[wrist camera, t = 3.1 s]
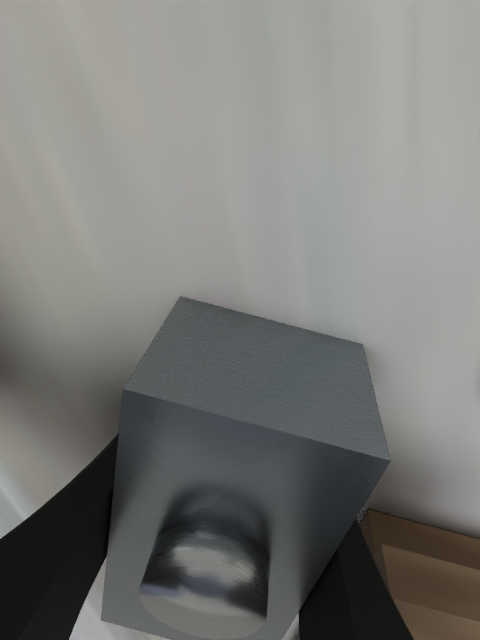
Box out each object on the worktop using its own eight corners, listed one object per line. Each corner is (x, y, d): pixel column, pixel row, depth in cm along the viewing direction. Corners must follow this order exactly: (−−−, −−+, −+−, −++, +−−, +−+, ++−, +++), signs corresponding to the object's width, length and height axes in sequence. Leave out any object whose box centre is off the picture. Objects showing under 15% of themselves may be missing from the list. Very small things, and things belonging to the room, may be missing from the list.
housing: (274, 535, 15) (262, 710, 11) (146, 501, 15) (85, 661, 11) (362, 343, 11) (402, 510, 6) (181, 294, 11) (98, 428, 6)
